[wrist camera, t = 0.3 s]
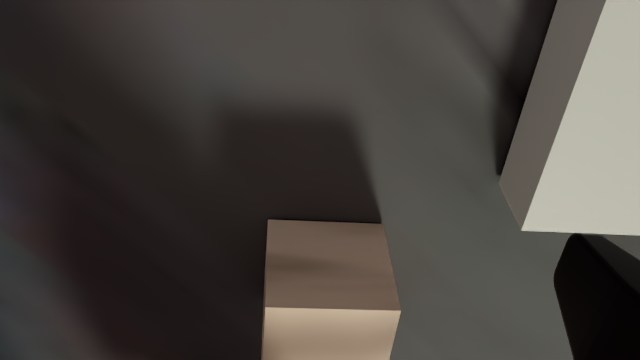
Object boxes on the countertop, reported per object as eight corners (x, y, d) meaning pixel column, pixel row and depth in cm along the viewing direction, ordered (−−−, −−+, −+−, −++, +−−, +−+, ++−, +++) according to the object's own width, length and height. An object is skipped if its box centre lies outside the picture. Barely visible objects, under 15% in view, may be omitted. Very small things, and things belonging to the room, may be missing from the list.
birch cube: (367, 303, 29) (380, 393, 25) (263, 300, 29) (260, 391, 25) (382, 224, 27) (400, 310, 22) (267, 219, 26) (265, 307, 22)
